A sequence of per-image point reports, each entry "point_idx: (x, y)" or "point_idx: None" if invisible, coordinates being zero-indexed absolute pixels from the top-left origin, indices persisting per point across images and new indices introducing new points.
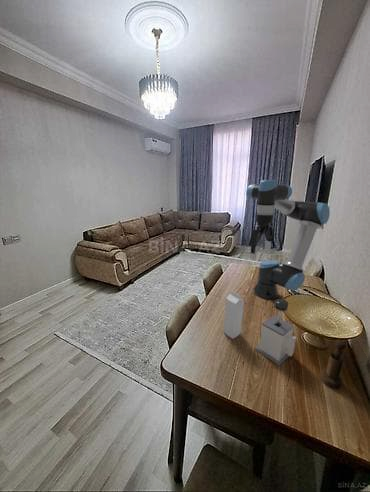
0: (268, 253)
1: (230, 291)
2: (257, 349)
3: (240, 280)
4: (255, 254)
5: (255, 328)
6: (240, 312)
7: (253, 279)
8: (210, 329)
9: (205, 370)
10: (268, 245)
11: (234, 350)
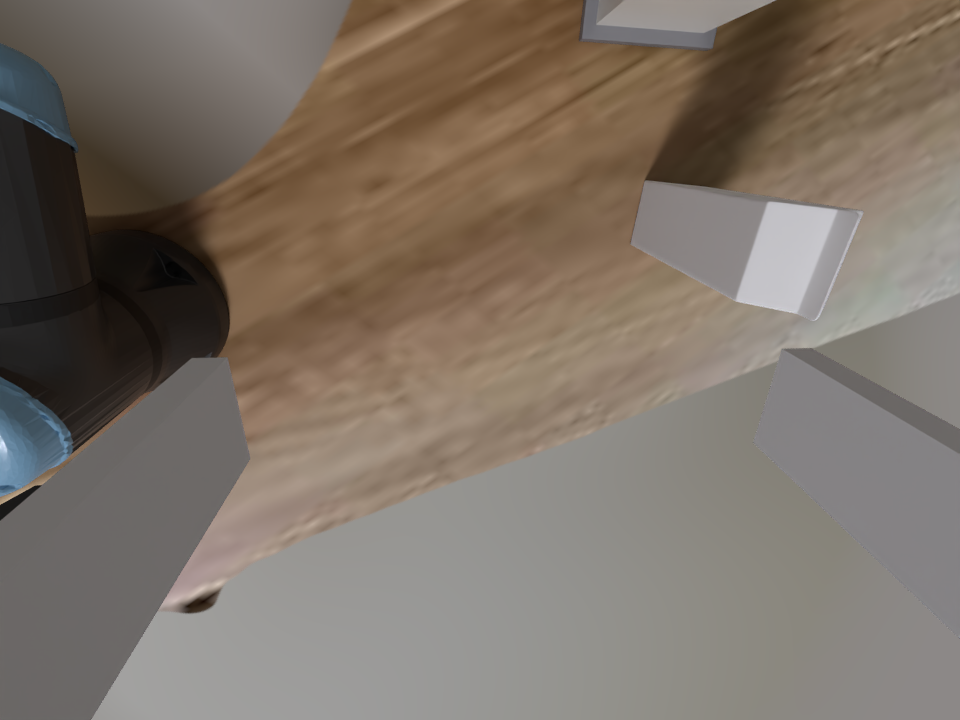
0: (225, 376)
1: (811, 318)
2: (713, 36)
3: None
4: (919, 413)
5: (544, 148)
6: (739, 194)
7: None
8: (705, 303)
9: (945, 148)
10: (111, 541)
11: (770, 130)
